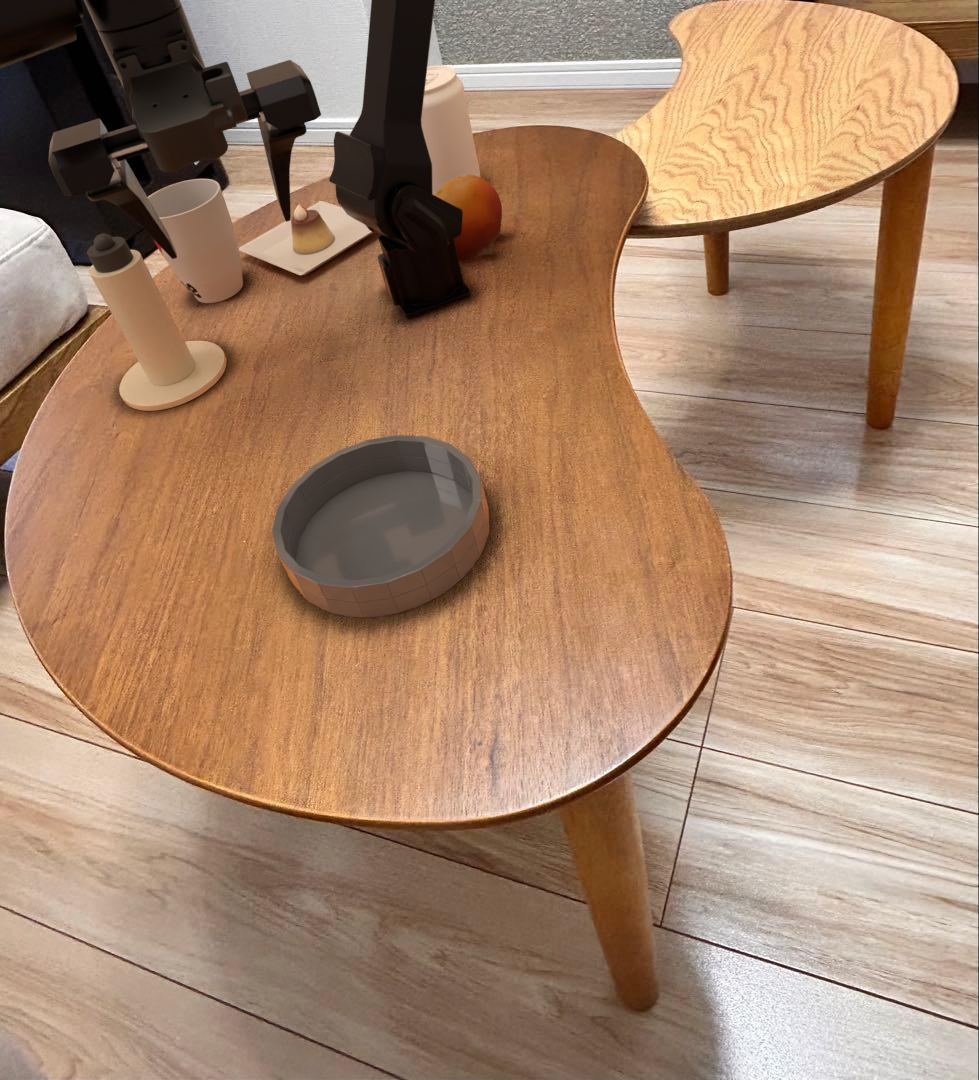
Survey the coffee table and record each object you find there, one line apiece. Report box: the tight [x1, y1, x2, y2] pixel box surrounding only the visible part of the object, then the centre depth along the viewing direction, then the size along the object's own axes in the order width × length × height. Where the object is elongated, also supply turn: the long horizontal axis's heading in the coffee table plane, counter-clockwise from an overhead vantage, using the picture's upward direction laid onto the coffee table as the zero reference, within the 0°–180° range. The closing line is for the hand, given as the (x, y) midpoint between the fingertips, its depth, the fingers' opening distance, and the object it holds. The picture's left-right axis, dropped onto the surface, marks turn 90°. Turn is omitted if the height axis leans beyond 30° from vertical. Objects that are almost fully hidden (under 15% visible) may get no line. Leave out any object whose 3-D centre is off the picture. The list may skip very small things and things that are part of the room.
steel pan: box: [271, 434, 490, 619], centre depth 59 cm, size 14×14×4 cm
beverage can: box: [421, 65, 482, 195], centre depth 93 cm, size 8×8×12 cm
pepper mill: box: [86, 233, 195, 386], centre depth 75 cm, size 4×4×14 cm
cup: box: [147, 178, 244, 304], centre depth 87 cm, size 8×8×10 cm
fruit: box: [435, 175, 507, 262], centre depth 85 cm, size 8×8×8 cm
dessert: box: [238, 200, 375, 276], centre depth 92 cm, size 12×12×5 cm
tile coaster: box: [118, 340, 228, 412], centre depth 80 cm, size 10×10×1 cm
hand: (231, 237), depth 68 cm, fingers open, 9 cm apart
